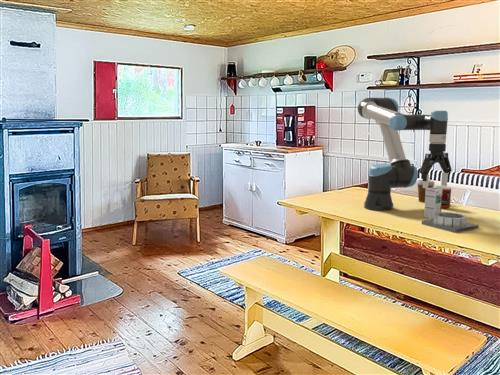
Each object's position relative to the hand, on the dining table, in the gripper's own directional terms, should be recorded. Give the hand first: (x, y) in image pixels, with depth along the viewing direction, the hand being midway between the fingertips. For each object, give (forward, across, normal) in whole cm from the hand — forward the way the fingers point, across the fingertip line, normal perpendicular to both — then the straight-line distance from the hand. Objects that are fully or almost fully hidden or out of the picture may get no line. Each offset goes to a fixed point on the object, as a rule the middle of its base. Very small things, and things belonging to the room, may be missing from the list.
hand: (434, 187), depth 231 cm
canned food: (+15, +24, +14) cm, 31 cm away
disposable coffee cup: (+15, +29, +30) cm, 44 cm away
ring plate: (+15, -8, -16) cm, 23 cm away
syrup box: (+15, 0, 0) cm, 15 cm away
